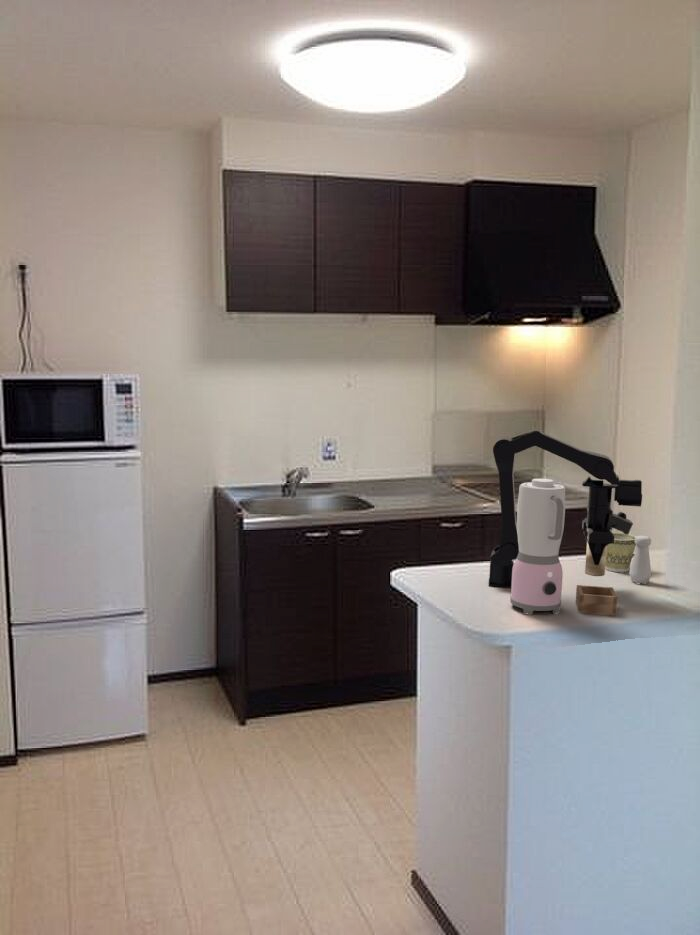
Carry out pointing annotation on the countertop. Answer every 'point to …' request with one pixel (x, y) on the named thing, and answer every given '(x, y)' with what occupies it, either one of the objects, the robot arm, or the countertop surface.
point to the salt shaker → (641, 561)
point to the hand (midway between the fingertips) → (595, 562)
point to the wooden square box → (596, 600)
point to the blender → (539, 547)
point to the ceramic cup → (620, 552)
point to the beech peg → (591, 567)
